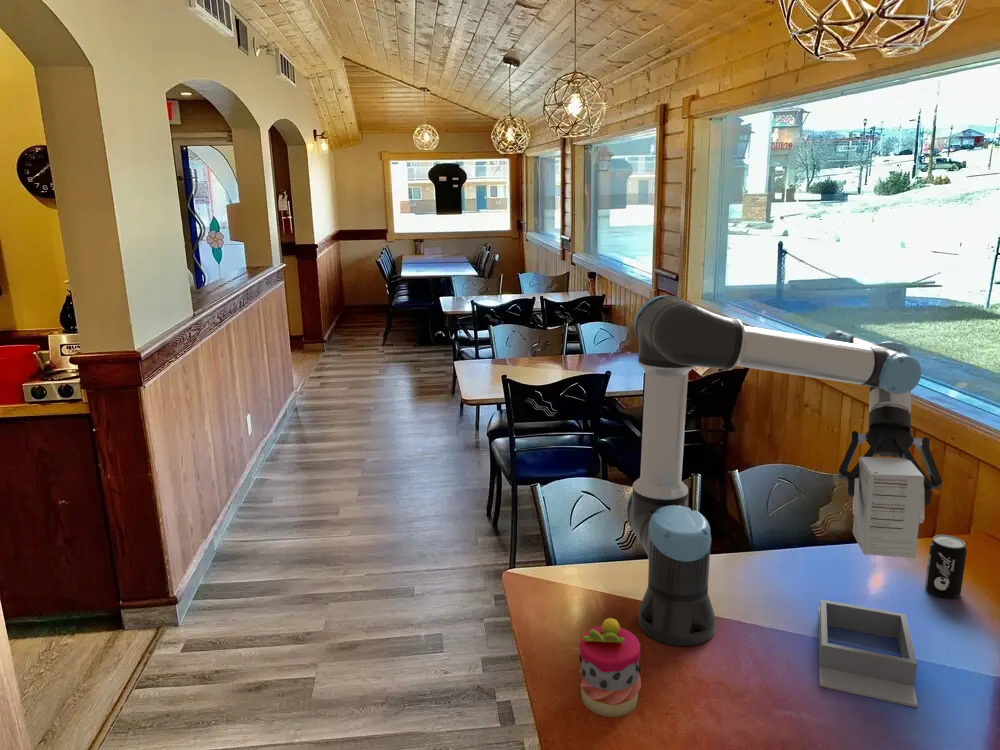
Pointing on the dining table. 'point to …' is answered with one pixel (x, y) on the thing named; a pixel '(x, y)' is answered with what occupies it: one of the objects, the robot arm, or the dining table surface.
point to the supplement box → (888, 507)
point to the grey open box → (867, 654)
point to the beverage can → (945, 566)
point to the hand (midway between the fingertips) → (887, 516)
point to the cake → (610, 669)
